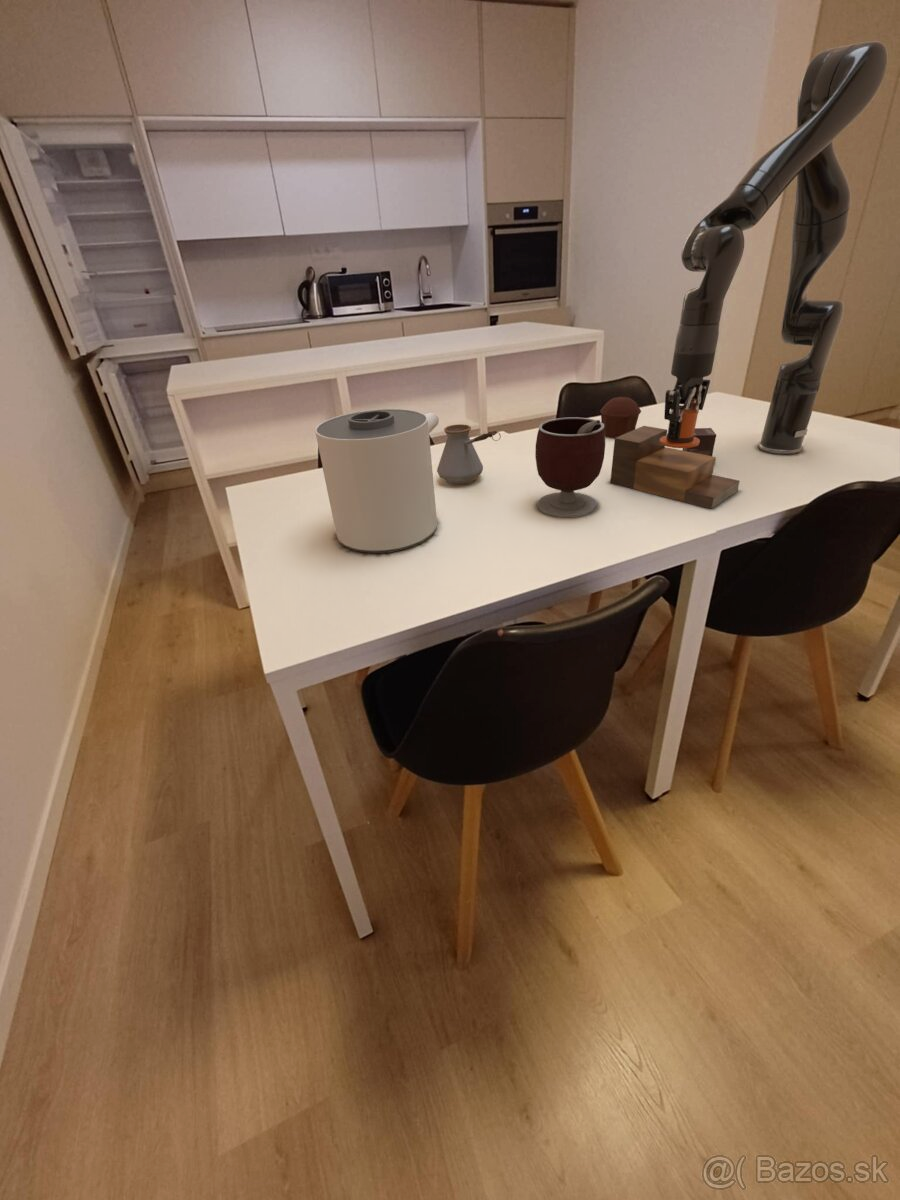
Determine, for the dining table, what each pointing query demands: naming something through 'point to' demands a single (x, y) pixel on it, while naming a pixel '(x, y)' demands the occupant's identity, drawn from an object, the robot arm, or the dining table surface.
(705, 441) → the box
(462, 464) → the coffee pot
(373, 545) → the humidifier
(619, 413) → the muffin
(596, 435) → the mate gourd
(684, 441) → the hat
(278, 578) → the dining table surface
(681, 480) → the stand
